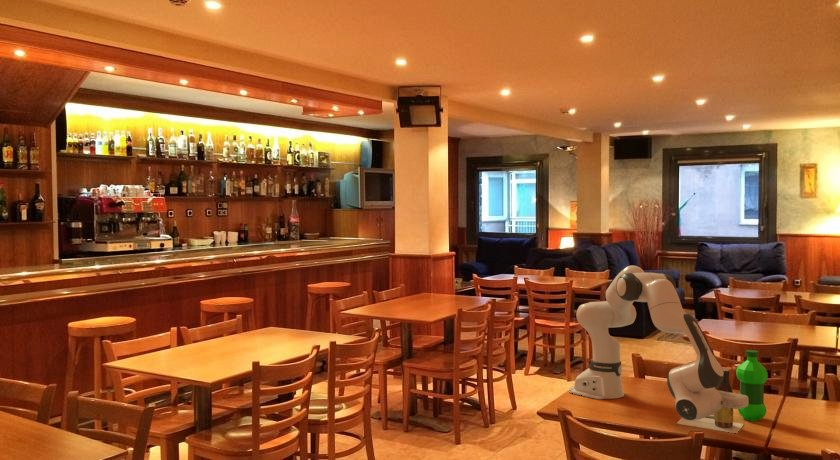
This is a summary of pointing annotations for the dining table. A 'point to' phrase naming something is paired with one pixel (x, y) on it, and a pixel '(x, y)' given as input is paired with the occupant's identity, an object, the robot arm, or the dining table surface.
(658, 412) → the dining table surface
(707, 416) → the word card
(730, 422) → the sauce bottle
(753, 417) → the plastic bottle
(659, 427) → the dining table surface
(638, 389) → the dining table surface
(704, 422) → the paper
